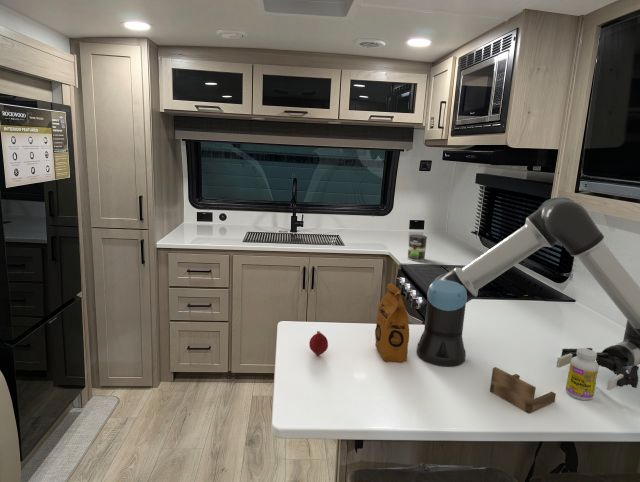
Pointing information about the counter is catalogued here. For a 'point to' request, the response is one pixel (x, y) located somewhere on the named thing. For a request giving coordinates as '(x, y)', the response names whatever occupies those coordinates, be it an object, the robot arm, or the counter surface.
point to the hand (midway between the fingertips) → (582, 373)
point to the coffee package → (392, 327)
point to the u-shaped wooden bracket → (518, 391)
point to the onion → (318, 343)
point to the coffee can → (417, 247)
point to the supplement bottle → (582, 374)
